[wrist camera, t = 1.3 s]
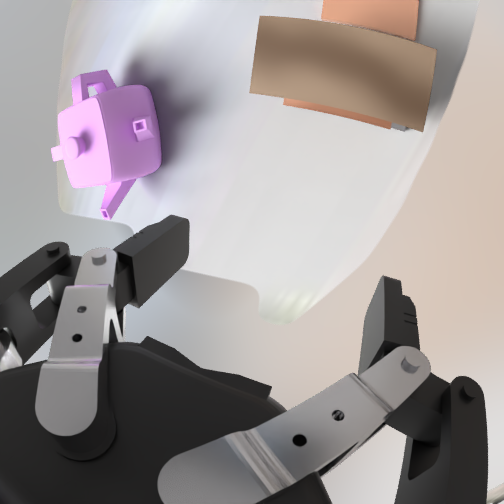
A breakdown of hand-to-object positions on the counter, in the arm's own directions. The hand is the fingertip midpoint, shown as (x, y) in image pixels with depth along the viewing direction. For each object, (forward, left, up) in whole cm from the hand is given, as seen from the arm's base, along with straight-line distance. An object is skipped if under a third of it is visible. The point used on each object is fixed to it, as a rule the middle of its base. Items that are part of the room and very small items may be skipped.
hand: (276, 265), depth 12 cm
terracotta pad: (-22, +1, -27) cm, 35 cm away
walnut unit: (-9, 0, -27) cm, 29 cm away
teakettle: (+2, -31, -28) cm, 42 cm away
